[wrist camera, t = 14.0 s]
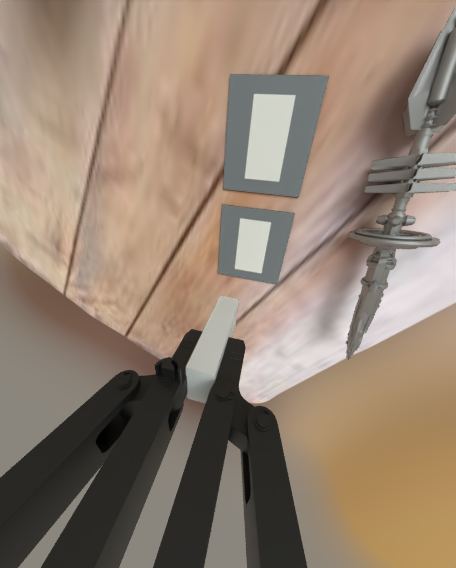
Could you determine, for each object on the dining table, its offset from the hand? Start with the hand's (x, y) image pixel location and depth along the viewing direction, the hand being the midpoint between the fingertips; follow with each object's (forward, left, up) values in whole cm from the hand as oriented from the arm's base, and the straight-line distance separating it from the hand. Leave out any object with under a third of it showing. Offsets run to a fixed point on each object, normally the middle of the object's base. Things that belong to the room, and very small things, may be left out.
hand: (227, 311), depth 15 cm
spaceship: (-5, +15, -17) cm, 23 cm away
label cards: (-6, 0, -16) cm, 18 cm away
